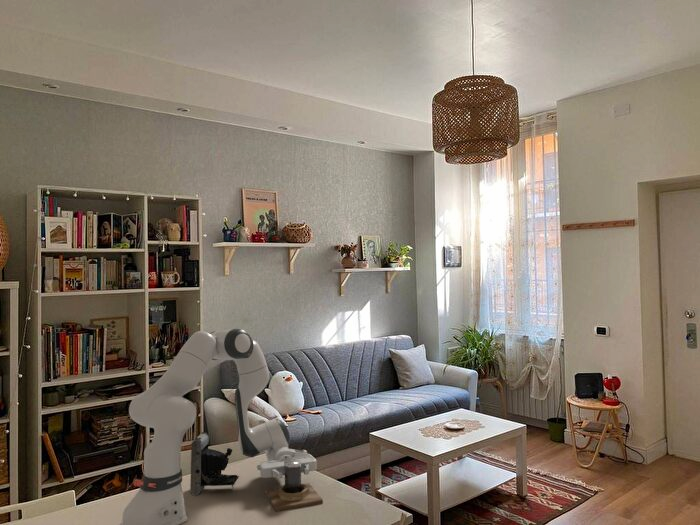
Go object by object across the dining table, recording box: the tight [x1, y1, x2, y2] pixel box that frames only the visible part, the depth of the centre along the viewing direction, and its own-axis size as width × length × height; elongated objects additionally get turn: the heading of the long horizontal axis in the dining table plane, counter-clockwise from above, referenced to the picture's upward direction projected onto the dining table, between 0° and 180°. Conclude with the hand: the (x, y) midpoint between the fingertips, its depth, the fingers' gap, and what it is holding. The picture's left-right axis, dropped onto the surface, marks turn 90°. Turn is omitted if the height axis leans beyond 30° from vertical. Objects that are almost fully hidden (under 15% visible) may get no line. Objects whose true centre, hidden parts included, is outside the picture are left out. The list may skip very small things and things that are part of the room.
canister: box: [284, 460, 302, 494], centre depth 185 cm, size 6×6×11 cm
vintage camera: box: [190, 431, 240, 496], centre depth 193 cm, size 10×16×20 cm, turn 89°
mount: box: [265, 482, 324, 512], centre depth 184 cm, size 16×16×3 cm
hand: (293, 474), depth 184 cm, fingers open, 8 cm apart
